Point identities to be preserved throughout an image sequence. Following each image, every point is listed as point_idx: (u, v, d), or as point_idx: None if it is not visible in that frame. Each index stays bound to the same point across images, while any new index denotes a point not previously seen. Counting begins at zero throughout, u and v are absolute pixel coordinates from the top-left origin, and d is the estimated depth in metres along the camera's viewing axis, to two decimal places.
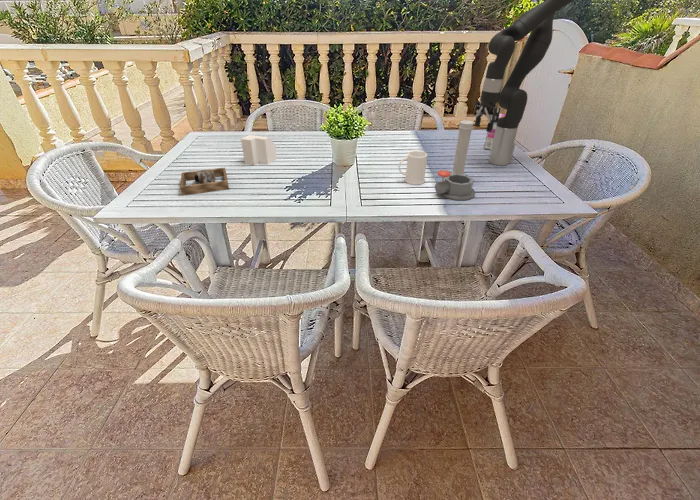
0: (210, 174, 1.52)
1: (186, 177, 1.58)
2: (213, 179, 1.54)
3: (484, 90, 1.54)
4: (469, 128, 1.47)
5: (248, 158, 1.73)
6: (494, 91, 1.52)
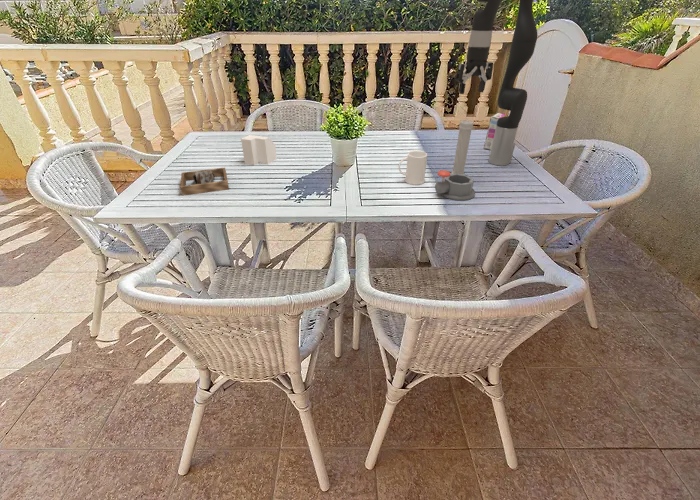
0: (208, 174, 1.52)
1: (186, 177, 1.58)
2: (211, 179, 1.54)
3: (486, 46, 1.30)
4: (469, 128, 1.47)
5: (248, 158, 1.73)
6: None
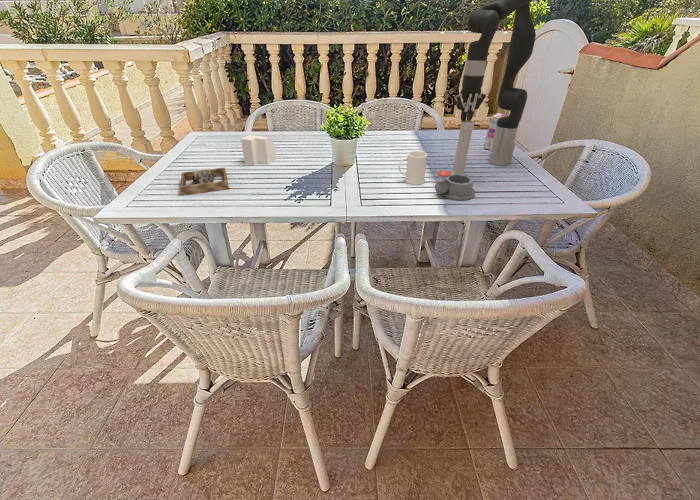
0: (207, 174, 1.52)
1: (186, 177, 1.58)
2: (210, 180, 1.53)
3: (480, 75, 1.35)
4: (470, 128, 1.47)
5: (248, 158, 1.73)
6: None
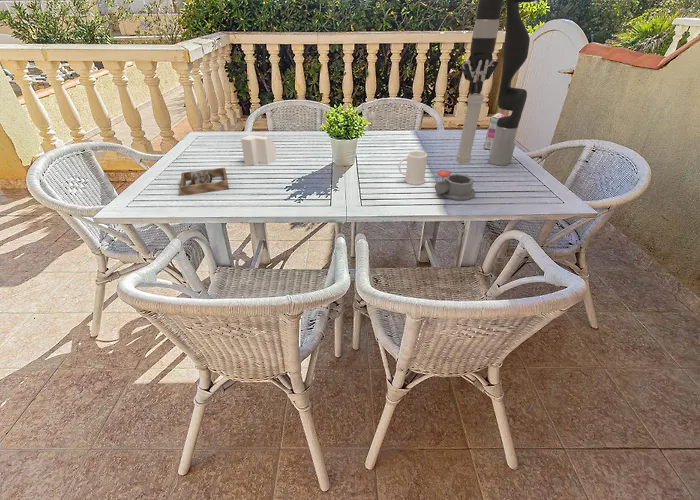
0: (204, 175, 1.51)
1: (186, 177, 1.58)
2: (207, 180, 1.53)
3: (492, 37, 1.15)
4: (479, 102, 1.27)
5: (248, 158, 1.73)
6: None
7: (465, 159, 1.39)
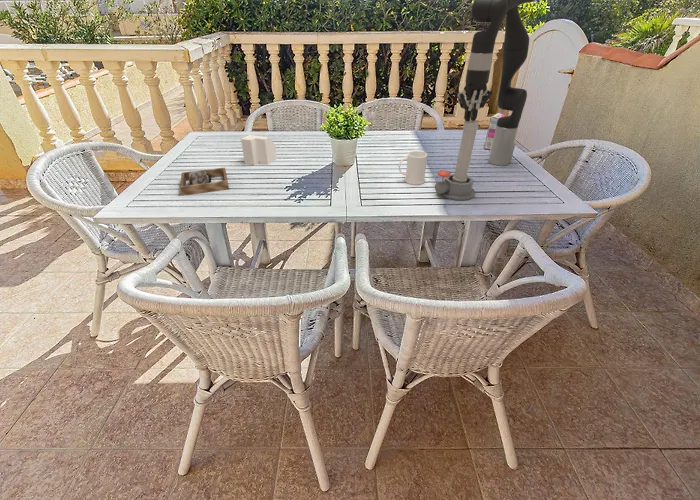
0: (202, 175, 1.51)
1: (186, 177, 1.58)
2: (205, 181, 1.53)
3: (486, 69, 1.21)
4: (474, 129, 1.32)
5: (248, 158, 1.73)
6: None
7: (461, 182, 1.44)
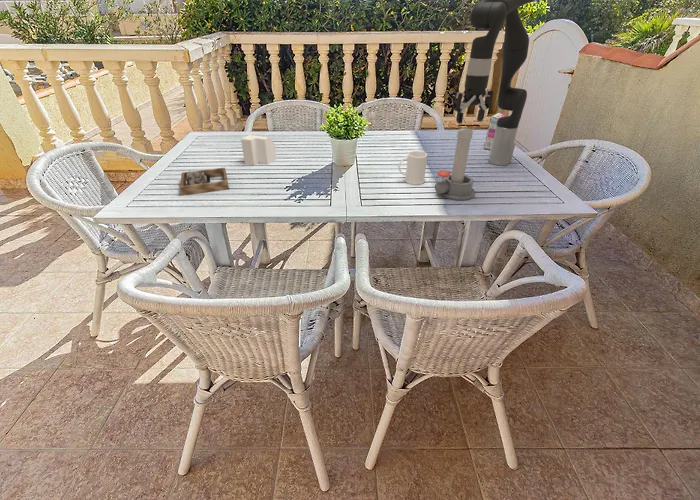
0: (199, 176, 1.51)
1: (186, 177, 1.58)
2: (203, 181, 1.52)
3: (485, 74, 1.21)
4: (468, 137, 1.34)
5: (248, 158, 1.73)
6: None
7: None
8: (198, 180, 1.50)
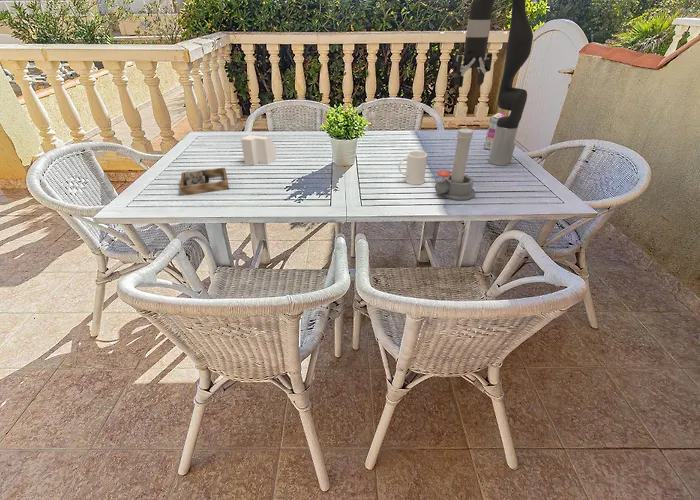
0: (197, 176, 1.50)
1: None
2: (201, 181, 1.52)
3: (484, 36, 1.23)
4: (468, 137, 1.34)
5: (248, 158, 1.73)
6: None
7: None
8: (196, 180, 1.50)
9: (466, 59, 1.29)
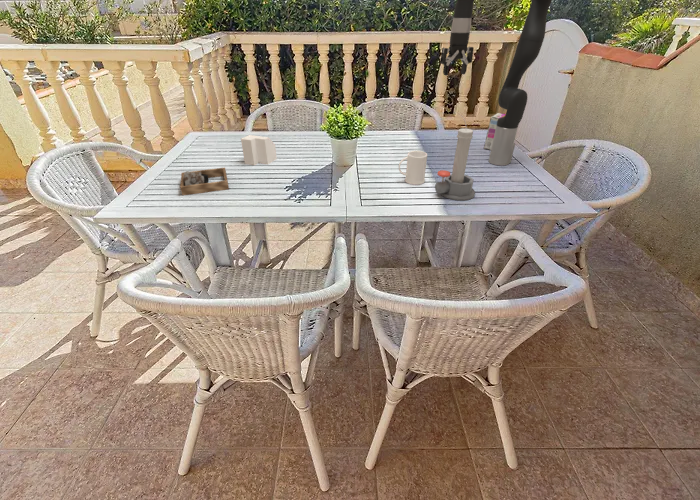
0: (196, 176, 1.50)
1: None
2: (199, 181, 1.52)
3: (466, 31, 1.47)
4: (468, 137, 1.33)
5: (248, 158, 1.73)
6: None
7: None
8: (194, 180, 1.50)
9: (451, 51, 1.52)
